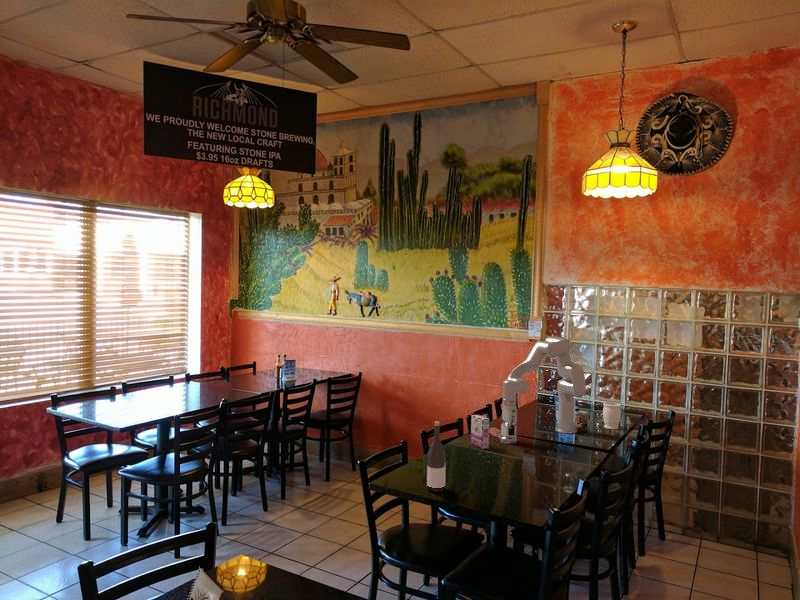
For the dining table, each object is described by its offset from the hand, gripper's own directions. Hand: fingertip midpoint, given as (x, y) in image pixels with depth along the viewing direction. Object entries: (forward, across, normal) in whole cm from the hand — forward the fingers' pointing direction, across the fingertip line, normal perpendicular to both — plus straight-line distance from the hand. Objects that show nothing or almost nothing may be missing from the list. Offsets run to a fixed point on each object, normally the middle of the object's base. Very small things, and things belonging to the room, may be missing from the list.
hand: (508, 433), depth 333 cm
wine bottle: (+5, -57, +65) cm, 87 cm away
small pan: (+5, +8, 0) cm, 10 cm away
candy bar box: (+5, -3, +19) cm, 20 cm away
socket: (+1, 0, 0) cm, 1 cm away
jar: (+5, +12, -77) cm, 78 cm away
